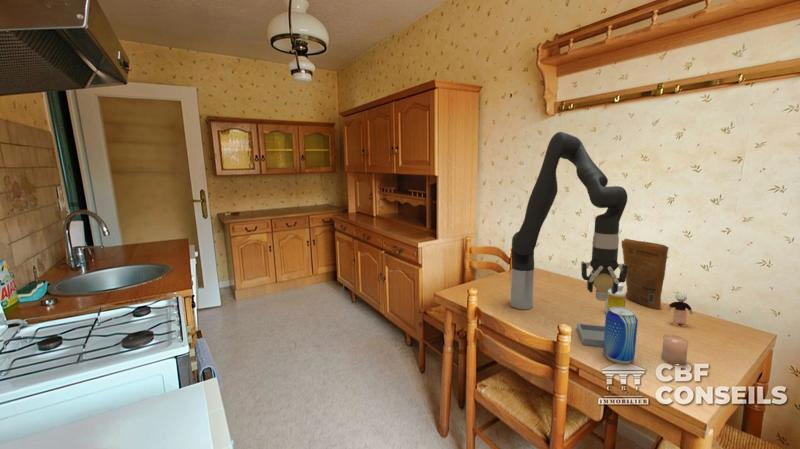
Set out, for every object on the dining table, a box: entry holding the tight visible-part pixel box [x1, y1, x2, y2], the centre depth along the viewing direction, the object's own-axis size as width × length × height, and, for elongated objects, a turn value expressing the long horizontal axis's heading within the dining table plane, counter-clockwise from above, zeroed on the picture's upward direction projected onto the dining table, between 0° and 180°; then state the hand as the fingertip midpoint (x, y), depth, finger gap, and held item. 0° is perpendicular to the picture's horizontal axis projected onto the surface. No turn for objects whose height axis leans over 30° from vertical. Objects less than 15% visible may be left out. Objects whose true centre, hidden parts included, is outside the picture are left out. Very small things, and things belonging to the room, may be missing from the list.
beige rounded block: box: [661, 334, 689, 366], centre depth 107 cm, size 6×6×7 cm
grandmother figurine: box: [666, 292, 694, 328], centre depth 130 cm, size 8×4×13 cm, turn 71°
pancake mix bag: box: [621, 238, 669, 310], centre depth 149 cm, size 7×19×28 cm, turn 16°
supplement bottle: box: [604, 282, 626, 314], centre depth 140 cm, size 7×7×13 cm
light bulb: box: [592, 273, 614, 302], centre depth 119 cm, size 6×6×10 cm
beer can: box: [602, 307, 639, 365], centre depth 109 cm, size 8×8×16 cm
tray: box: [576, 322, 605, 348], centre depth 122 cm, size 12×12×2 cm
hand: (601, 292), depth 119 cm, fingers closed on light bulb, 6 cm apart
